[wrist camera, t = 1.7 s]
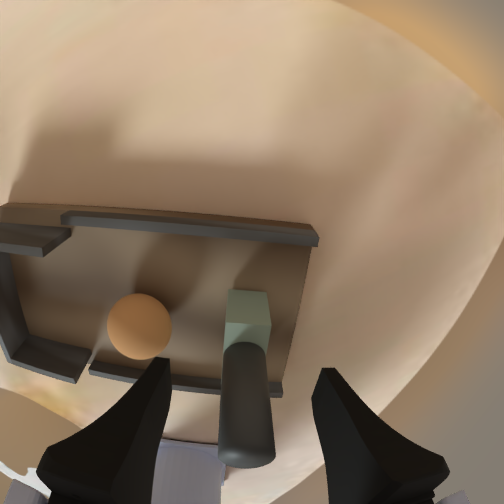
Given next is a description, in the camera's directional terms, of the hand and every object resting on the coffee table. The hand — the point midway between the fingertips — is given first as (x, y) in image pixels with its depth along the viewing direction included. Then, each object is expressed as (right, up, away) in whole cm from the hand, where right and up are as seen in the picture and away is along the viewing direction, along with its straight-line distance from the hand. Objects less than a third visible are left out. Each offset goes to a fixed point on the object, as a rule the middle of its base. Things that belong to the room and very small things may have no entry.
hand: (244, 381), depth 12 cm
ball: (-6, +2, +3) cm, 6 cm away
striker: (0, +2, +4) cm, 5 cm away
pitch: (-7, +3, +5) cm, 9 cm away
